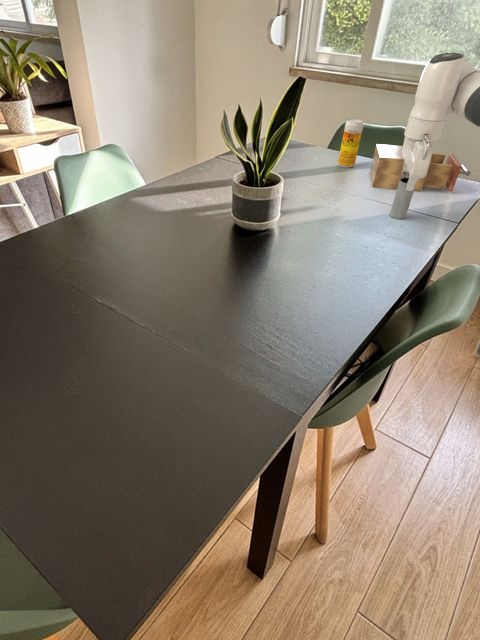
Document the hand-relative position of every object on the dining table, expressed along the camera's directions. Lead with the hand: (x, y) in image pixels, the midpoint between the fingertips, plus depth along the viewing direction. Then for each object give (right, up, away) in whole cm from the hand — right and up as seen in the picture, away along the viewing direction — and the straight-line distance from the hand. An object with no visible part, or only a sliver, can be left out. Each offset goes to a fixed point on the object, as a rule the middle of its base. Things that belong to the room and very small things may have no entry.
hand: (406, 183), depth 119 cm
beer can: (-5, +22, +39) cm, 45 cm away
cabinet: (+8, +11, +27) cm, 31 cm away
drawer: (+20, +10, +25) cm, 33 cm away
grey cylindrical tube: (0, -7, +6) cm, 10 cm away
